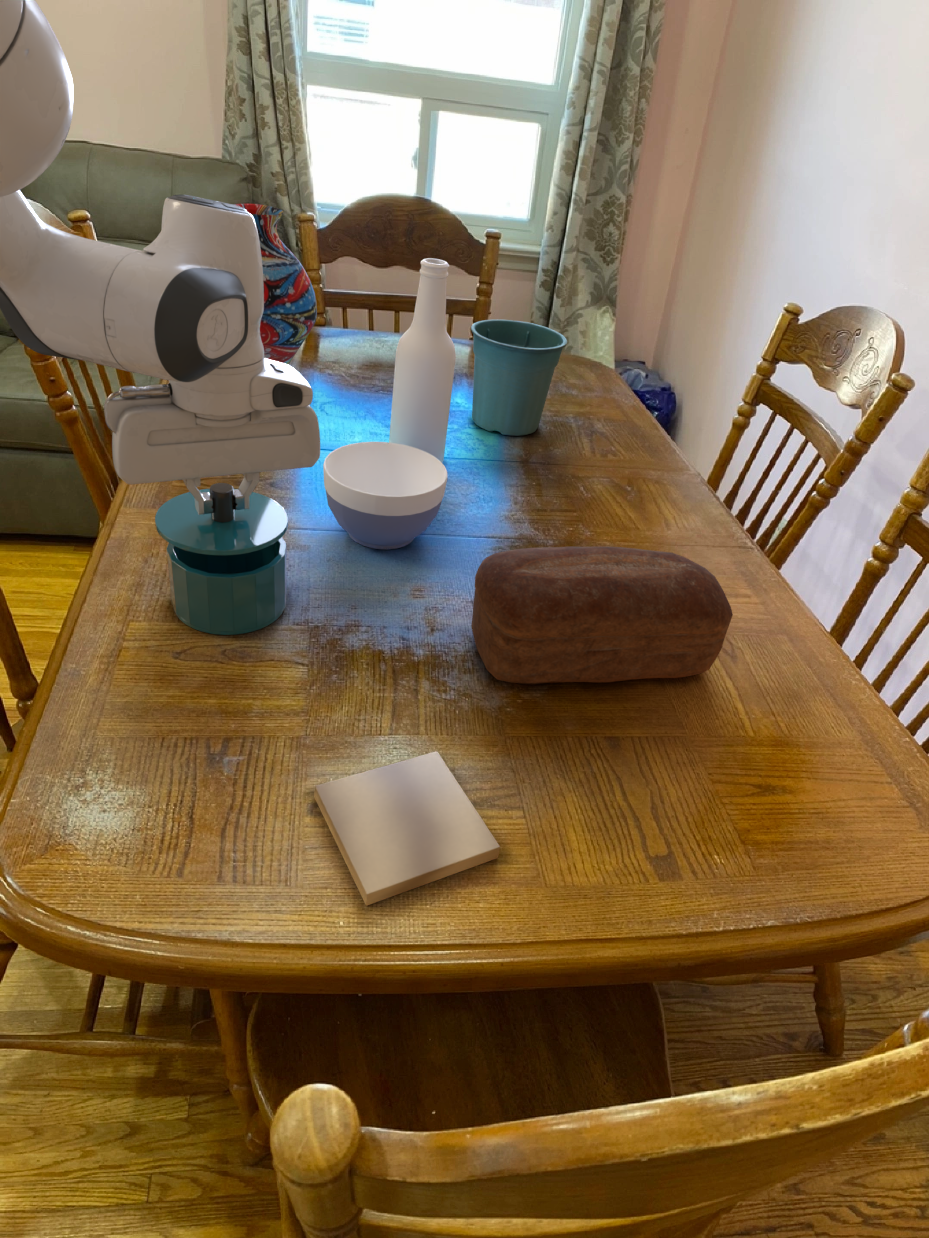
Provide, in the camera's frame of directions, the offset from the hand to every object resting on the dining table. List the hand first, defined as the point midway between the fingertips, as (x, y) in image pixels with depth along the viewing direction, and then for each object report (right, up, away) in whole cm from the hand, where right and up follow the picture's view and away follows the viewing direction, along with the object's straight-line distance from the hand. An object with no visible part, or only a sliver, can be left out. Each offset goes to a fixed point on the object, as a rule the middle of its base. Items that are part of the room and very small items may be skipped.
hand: (222, 509), depth 87 cm
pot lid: (0, -1, +1) cm, 2 cm away
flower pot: (+33, +24, +61) cm, 73 cm away
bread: (+40, -16, +8) cm, 43 cm away
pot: (-1, -10, +7) cm, 12 cm away
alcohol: (+18, +13, +43) cm, 49 cm away
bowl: (+14, 0, +24) cm, 28 cm away
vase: (-10, +27, +57) cm, 64 cm away
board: (+20, -29, -16) cm, 39 cm away
